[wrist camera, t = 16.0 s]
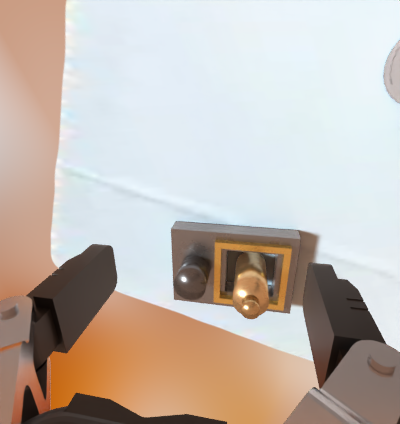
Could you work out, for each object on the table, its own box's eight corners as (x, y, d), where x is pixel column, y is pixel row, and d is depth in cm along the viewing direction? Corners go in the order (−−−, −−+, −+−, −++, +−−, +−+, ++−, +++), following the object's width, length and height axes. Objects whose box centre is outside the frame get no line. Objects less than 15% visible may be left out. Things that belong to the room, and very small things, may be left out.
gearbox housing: (297, 230, 44) (306, 256, 37) (287, 301, 50) (293, 336, 42) (175, 221, 48) (161, 243, 40) (178, 289, 53) (166, 319, 46)
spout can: (267, 252, 47) (271, 298, 36) (264, 277, 49) (267, 329, 38) (237, 249, 48) (232, 294, 37) (235, 274, 49) (230, 324, 38)
